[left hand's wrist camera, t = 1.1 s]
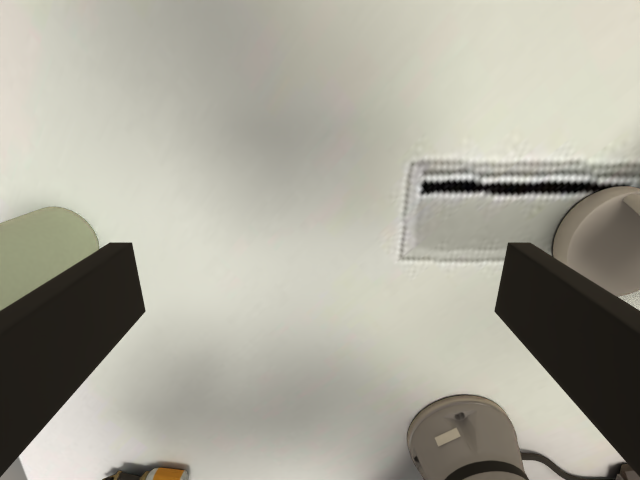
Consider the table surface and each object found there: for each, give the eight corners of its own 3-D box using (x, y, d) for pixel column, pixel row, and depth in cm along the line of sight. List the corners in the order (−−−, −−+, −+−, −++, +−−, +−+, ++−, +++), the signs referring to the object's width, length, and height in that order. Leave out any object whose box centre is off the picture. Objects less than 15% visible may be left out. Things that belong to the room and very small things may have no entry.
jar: (13, 246, 42) (-171, 327, 26) (43, 191, 40) (-140, 244, 24) (79, 286, 44) (-56, 384, 28) (111, 236, 42) (-17, 312, 26)
